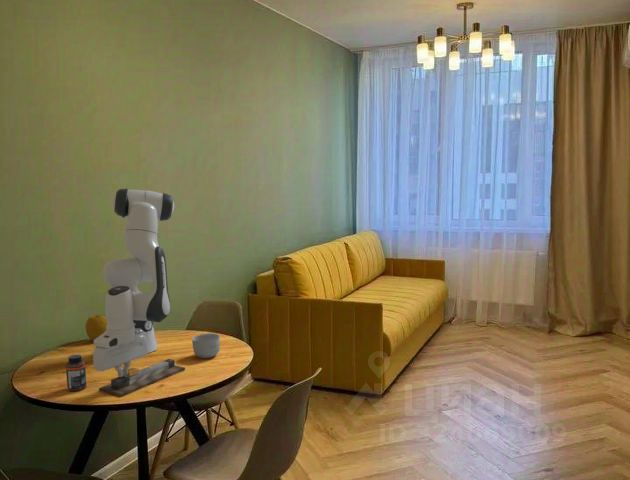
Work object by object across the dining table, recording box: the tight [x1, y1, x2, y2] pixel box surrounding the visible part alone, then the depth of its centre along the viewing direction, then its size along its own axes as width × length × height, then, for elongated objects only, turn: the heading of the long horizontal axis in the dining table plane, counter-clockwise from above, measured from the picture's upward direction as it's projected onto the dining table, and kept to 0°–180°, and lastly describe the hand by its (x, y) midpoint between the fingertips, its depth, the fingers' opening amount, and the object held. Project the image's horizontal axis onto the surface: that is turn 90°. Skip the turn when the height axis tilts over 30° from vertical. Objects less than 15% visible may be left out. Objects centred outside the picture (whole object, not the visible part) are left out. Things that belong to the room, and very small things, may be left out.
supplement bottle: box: [65, 354, 87, 392], centre depth 185 cm, size 6×6×11 cm
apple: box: [85, 314, 107, 342], centre depth 243 cm, size 10×10×12 cm
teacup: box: [191, 332, 221, 359], centre depth 220 cm, size 14×11×8 cm
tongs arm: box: [125, 358, 176, 381], centre depth 195 cm, size 21×3×1 cm, turn 150°
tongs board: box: [98, 362, 186, 398], centre depth 192 cm, size 29×11×4 cm, turn 150°
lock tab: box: [126, 367, 140, 376], centre depth 187 cm, size 4×3×1 cm
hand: (123, 375), depth 185 cm, fingers closed
